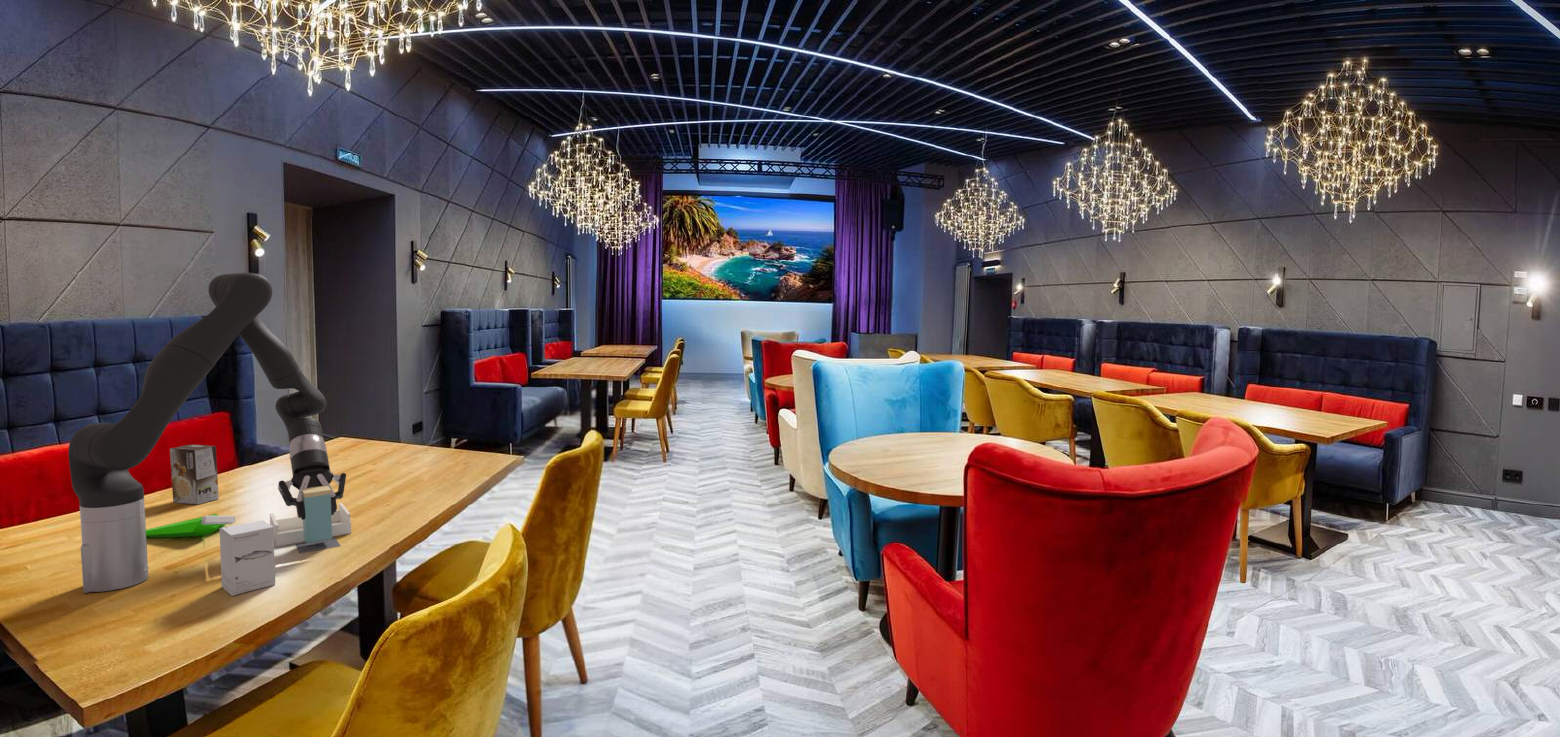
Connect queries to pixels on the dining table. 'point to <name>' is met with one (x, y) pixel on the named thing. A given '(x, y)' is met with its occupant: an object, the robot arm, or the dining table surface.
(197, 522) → the green and white wedge
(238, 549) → the supplement box
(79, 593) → the dining table surface
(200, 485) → the coffee box
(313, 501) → the tea tin
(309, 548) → the coaster
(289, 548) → the dining table surface
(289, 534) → the tote
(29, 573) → the dining table surface
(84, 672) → the dining table surface
